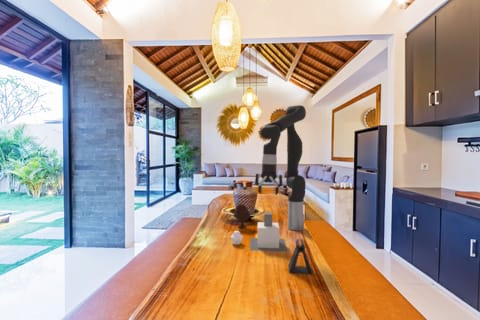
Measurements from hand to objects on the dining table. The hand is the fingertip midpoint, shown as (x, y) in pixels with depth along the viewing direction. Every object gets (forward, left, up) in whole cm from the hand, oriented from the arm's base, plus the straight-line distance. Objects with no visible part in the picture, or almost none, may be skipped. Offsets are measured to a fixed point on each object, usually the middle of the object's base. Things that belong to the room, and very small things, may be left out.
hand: (268, 193), depth 143 cm
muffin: (+16, +6, -26) cm, 31 cm away
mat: (0, +6, -25) cm, 26 cm away
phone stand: (-12, +34, -26) cm, 44 cm away
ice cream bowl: (+15, -24, -26) cm, 38 cm away
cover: (0, +6, -25) cm, 26 cm away
